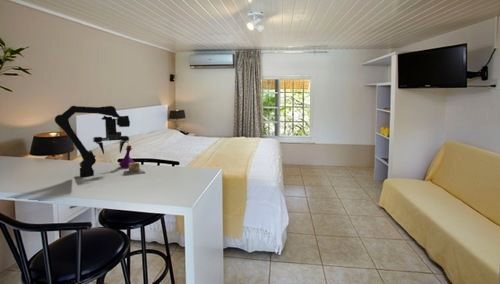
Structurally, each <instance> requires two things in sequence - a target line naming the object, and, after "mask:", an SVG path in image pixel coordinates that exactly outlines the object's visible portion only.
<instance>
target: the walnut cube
mask: <svg viewBox="0 0 500 284" xmlns="http://www.w3.org/2000/svg"><path fill="white" fill-rule="evenodd" d="M128 171H129V172H131V173H132V172H140V162H138V161H137V162H135V163H129V168H128Z"/></svg>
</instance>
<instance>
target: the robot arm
mask: <svg viewBox="0 0 500 284" xmlns="http://www.w3.org/2000/svg"><path fill="white" fill-rule="evenodd" d="M76 113H77V114H97V115H102V116H103V117H102V118H101V120H103V121H104V120H105V121H104V122H105V123H104V125H105V137H102V136H94V137H93V138H92V141H93V143H95V144H97V145H98V146H99V148H100V150H101V152H102V154H103V155H105V150H104V149H105V148H104V144H103V142H105V141H106V142H107V141H108V142H110V141H119V154H121V153H122V150H123V147H124V145H125V143H127V141H128V142H129V141H130V137H129V136H128V135H122V131H117V126H118V128H129V127H130V125H131V121H130V119H129V115H119V113H118V112H117V109H116V107H115V106H112V105H107V106H106V105H105V106H100V107H98V106H82V105H81V106H80V105H79V106H78V105H71V106H70V107H69V108H68V109H66V110H65V111H64V112H63V113H62V114H58V115H56V116H55V117H54V122H55V124H57V126H59V128H60V129H62V130H63V131H64V132H65V134H66V135H67V137H68V138H69V139H70V140H71V142H72V144H73V145H74V147H76V149H77V150H78V152H79V154H80V156H81V158H82V161H80V163H79V178H89V177H94V176H95V170H94V169H93V165H95V163H96V162H97V159H96V155H95V154H94V153H93V151H92V150H91V149H90V150H88V149H87V148H86V147H85V145H84V144H83V142H82V141H81V140H80V138H79V137H78V135H77V134H76V132H75V131H74V130H73V129H72V126H71V124H70V121H69V119H70V118H71V117H72V116H73V115H75V114H76Z"/></svg>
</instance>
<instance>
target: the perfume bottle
mask: <svg viewBox="0 0 500 284" xmlns="http://www.w3.org/2000/svg"><path fill="white" fill-rule="evenodd" d="M126 143H127V144H128V145H126V148H125V150H126V153H125V154H124V155H125V156H124V157H123V159H122V160H121V161H120V162H119V163H118V165H119V166H120V167H121V168H127V169H129V163H136V162H135V161H134V160H133V158H131V157H130V152H131V150H133V148H132V145H130V143H129V141H127V142H126Z"/></svg>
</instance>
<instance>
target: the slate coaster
mask: <svg viewBox="0 0 500 284" xmlns="http://www.w3.org/2000/svg"><path fill="white" fill-rule="evenodd" d="M123 173H124V174H125V175H127V176H131V175H132V176H133V175H141V174H146V171H145V170H143V169H140V172H132V173H131V172H129V170H124V171H123Z"/></svg>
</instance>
